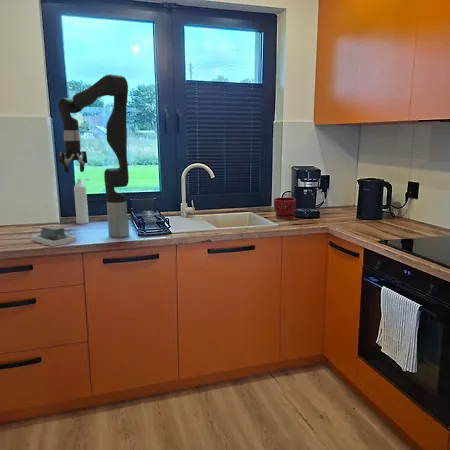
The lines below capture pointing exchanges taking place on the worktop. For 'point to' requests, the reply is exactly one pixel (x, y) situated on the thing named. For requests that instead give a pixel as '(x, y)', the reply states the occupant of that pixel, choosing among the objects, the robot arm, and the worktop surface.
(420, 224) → the worktop surface
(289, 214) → the plant pot
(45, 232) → the block
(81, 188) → the water bottle
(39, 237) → the tray
